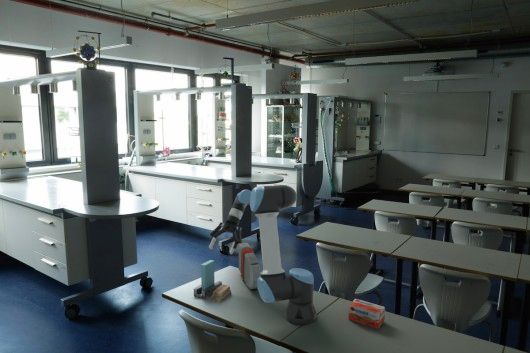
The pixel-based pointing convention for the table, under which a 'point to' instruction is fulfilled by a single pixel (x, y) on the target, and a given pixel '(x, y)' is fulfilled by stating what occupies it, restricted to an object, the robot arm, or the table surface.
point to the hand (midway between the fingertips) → (220, 251)
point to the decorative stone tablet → (248, 266)
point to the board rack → (206, 290)
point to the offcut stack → (221, 293)
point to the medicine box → (366, 313)
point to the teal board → (207, 274)
